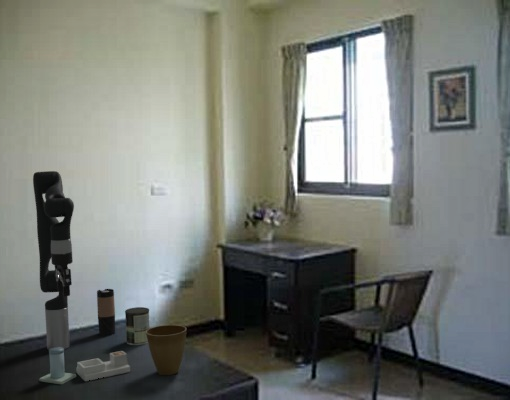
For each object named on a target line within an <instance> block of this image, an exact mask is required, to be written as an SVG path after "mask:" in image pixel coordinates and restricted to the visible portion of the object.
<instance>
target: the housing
mask: <svg viewBox="0 0 510 400" xmlns="http://www.w3.org/2000/svg"><path fill="white" fill-rule="evenodd" d="M118 352H120V353H122V355H117V356H115V355H114V354H115V353H118ZM76 365H77V367H75V368H76V369H75V370H76V375H78V376H79V377H80V378H81V379H82V380H83V381H84V382H89V380H90V381H93V380H97V379H98V378H99V379H103V377H104V378H108V377H112V376H117V375H122V374H126V373H130V372H131V366H130V365H129V364H128V354H127V353H126V352H125V351H123V350H119V351H115V352H109V360H108V361H103V360H102V359H100V358H99V357H97V358H92V359H85V360H82V361H77V363H76Z"/></svg>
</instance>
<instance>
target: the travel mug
mask: <svg viewBox="0 0 510 400" xmlns="http://www.w3.org/2000/svg"><path fill="white" fill-rule="evenodd" d="M96 296H97V297H96V298H97V299H96V300H97V301H96V302H97V306H96V307H97V323H98V334H99V336H101V337H102V336H103V337H105V336H108V335H109V336H113V335H115V333H116V310H115V306H116V305H115V291H114V289H112V288H105V289H103V290H101V289H97V291H96ZM112 334H113V335H112Z"/></svg>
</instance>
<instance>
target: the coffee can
mask: <svg viewBox="0 0 510 400" xmlns="http://www.w3.org/2000/svg"><path fill="white" fill-rule="evenodd" d="M124 313H125V330H126V331H125V334H126V344H127V345H129V346H143V345H147V344H148V340H147V335H146V331H147V330H148V329H150V309H149V307H141V306H139V307H138V306H136V307H130V308H128V309H125V311H124Z"/></svg>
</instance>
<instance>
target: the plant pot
mask: <svg viewBox="0 0 510 400" xmlns="http://www.w3.org/2000/svg"><path fill="white" fill-rule="evenodd" d="M146 335H147V340H148V343H147V344H148V348H149V352H150V355H151V358H152V362H153V363H154V366H155V368H156V371H157V373H158V374H159V375H162V376H172V375H176V374H177V373H178V372H179V370H180V367H181V363H182V360H183V356H184V353H185V352H184V351H185V345H186V340H187V327H186V326H184V325H179V324H164V325H157V326H154V327H151V328H150V329H148V330H147V331H146Z"/></svg>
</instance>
